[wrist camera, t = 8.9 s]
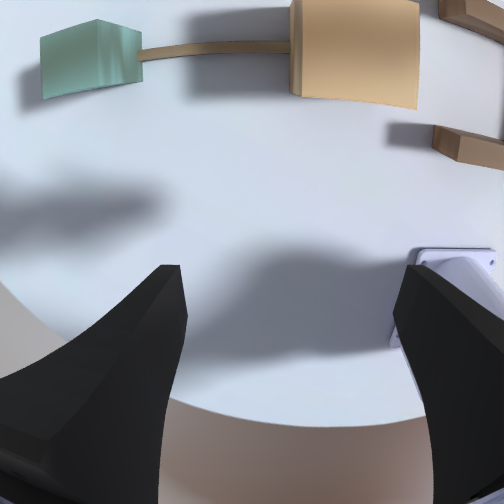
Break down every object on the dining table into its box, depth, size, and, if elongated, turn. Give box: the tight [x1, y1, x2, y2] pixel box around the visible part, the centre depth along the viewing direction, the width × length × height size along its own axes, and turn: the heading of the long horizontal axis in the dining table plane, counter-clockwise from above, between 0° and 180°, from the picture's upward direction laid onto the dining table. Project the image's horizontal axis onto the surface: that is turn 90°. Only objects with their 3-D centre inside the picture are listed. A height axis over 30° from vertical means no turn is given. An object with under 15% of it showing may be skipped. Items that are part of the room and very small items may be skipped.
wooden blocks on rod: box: [40, 0, 420, 110], centre depth 12 cm, size 5×16×6 cm, turn 90°
